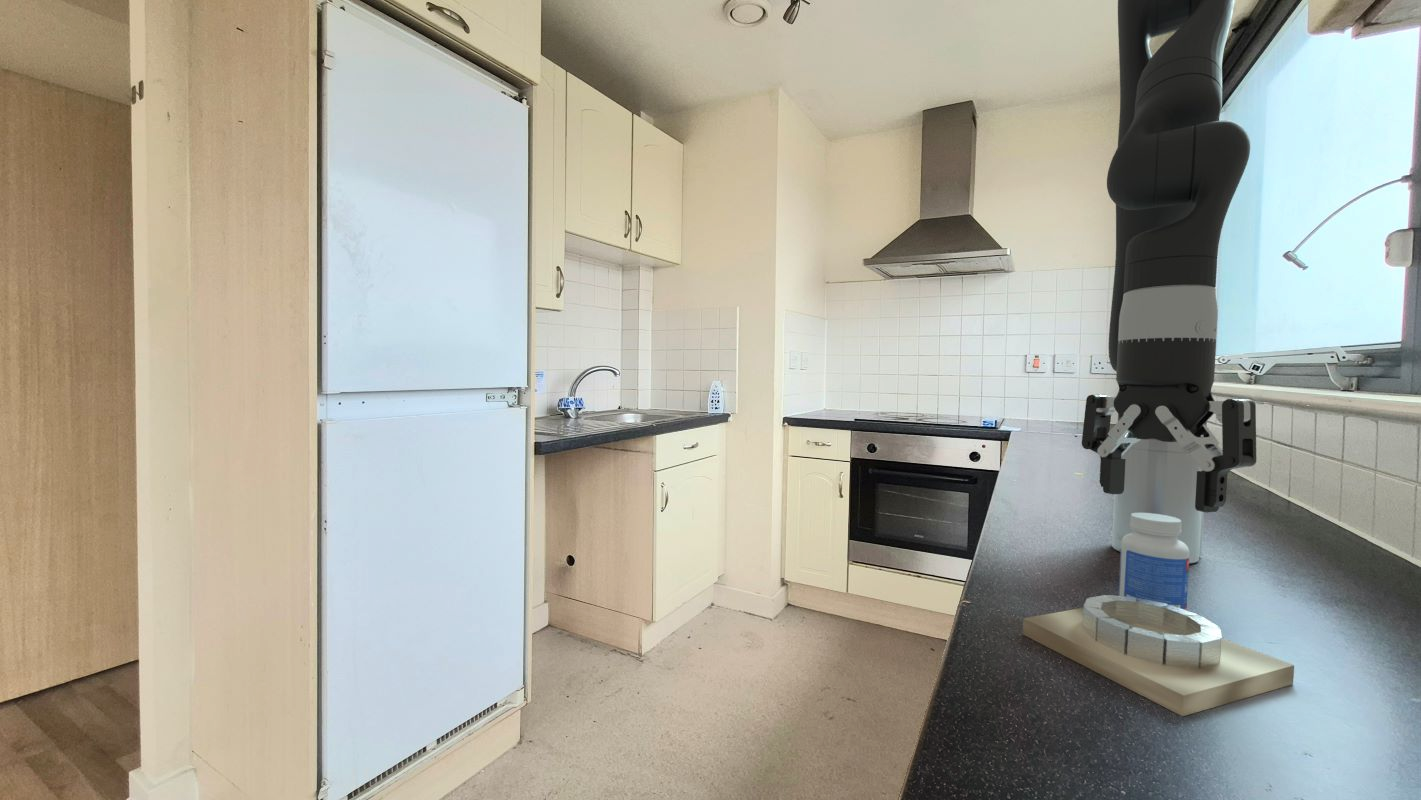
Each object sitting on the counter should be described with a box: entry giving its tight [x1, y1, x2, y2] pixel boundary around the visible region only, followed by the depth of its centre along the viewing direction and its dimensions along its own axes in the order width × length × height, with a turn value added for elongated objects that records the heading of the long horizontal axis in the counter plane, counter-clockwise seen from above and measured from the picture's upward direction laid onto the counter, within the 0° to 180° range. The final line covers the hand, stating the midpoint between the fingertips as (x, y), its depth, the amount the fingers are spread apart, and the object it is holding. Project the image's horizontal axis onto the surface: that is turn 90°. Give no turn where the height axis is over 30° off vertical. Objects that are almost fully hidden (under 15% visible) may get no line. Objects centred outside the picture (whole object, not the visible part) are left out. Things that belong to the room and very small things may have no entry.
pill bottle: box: [1118, 513, 1190, 611], centre depth 57 cm, size 6×5×10 cm
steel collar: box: [1082, 594, 1222, 669], centre depth 48 cm, size 9×9×2 cm
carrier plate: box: [1022, 607, 1295, 717], centre depth 48 cm, size 13×13×2 cm
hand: (1156, 501), depth 56 cm, fingers open, 8 cm apart
